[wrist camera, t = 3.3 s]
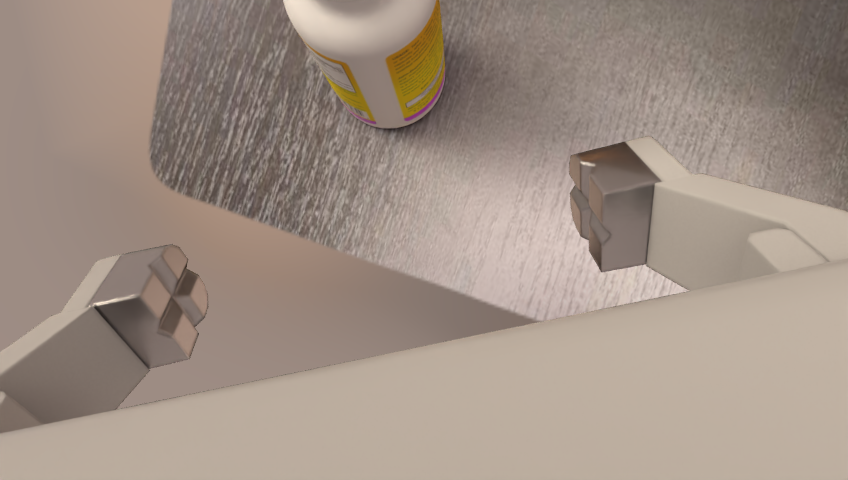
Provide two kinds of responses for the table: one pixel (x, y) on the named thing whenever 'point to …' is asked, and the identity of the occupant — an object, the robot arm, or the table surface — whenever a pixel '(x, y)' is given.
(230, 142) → the table surface
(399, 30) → the supplement bottle
